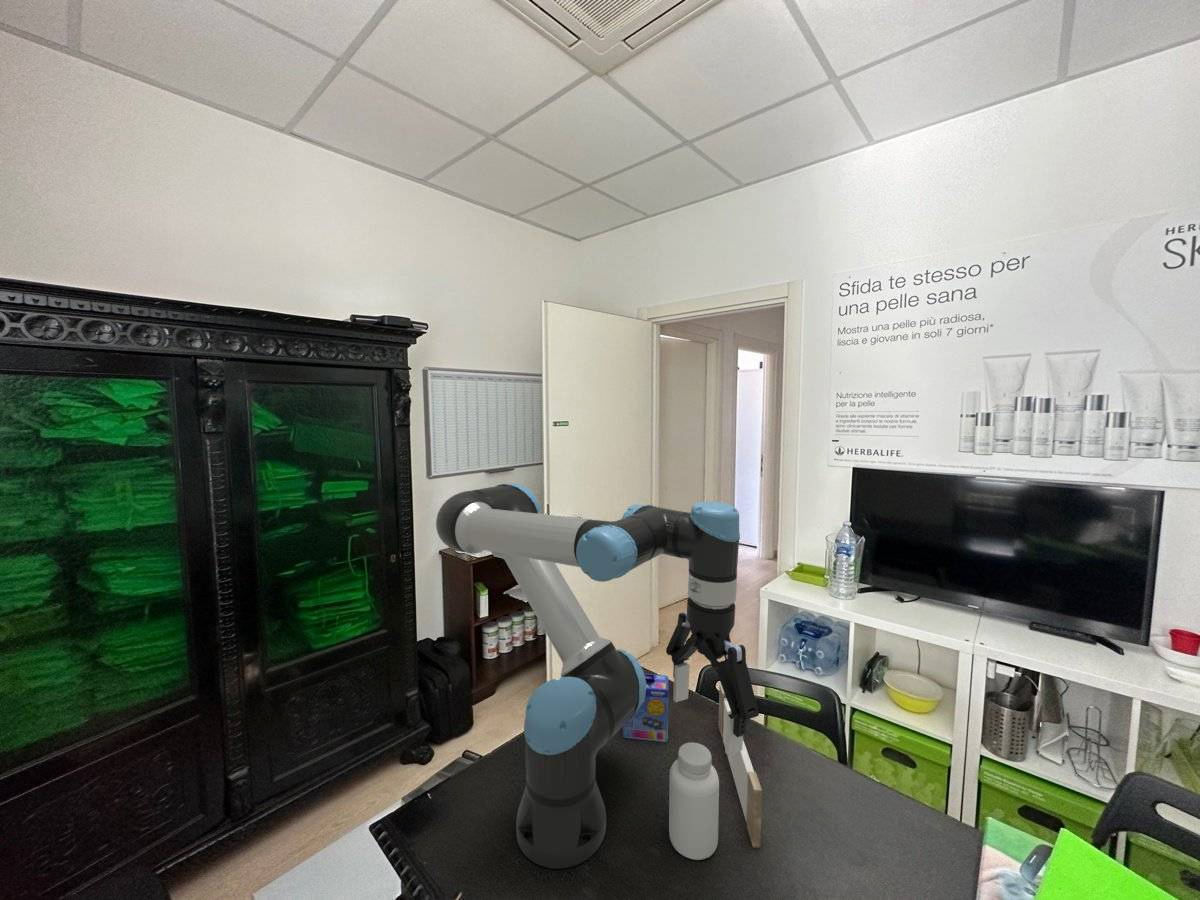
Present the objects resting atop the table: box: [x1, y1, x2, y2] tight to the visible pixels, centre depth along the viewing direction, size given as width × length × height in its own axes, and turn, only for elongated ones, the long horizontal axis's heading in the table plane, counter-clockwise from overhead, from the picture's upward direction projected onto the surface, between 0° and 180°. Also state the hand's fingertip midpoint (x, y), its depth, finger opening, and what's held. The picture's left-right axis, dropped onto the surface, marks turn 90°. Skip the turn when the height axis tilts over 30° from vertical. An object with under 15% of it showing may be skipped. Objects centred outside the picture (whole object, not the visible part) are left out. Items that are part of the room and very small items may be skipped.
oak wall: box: [718, 683, 763, 849], centre depth 90 cm, size 1×29×10 cm, turn 177°
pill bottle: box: [668, 742, 720, 861], centre depth 77 cm, size 8×8×15 cm
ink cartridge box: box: [622, 673, 669, 743], centre depth 102 cm, size 10×6×14 cm, turn 83°
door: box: [722, 698, 755, 823], centre depth 90 cm, size 1×21×9 cm, turn 176°
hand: (705, 723), depth 77 cm, fingers open, 13 cm apart
